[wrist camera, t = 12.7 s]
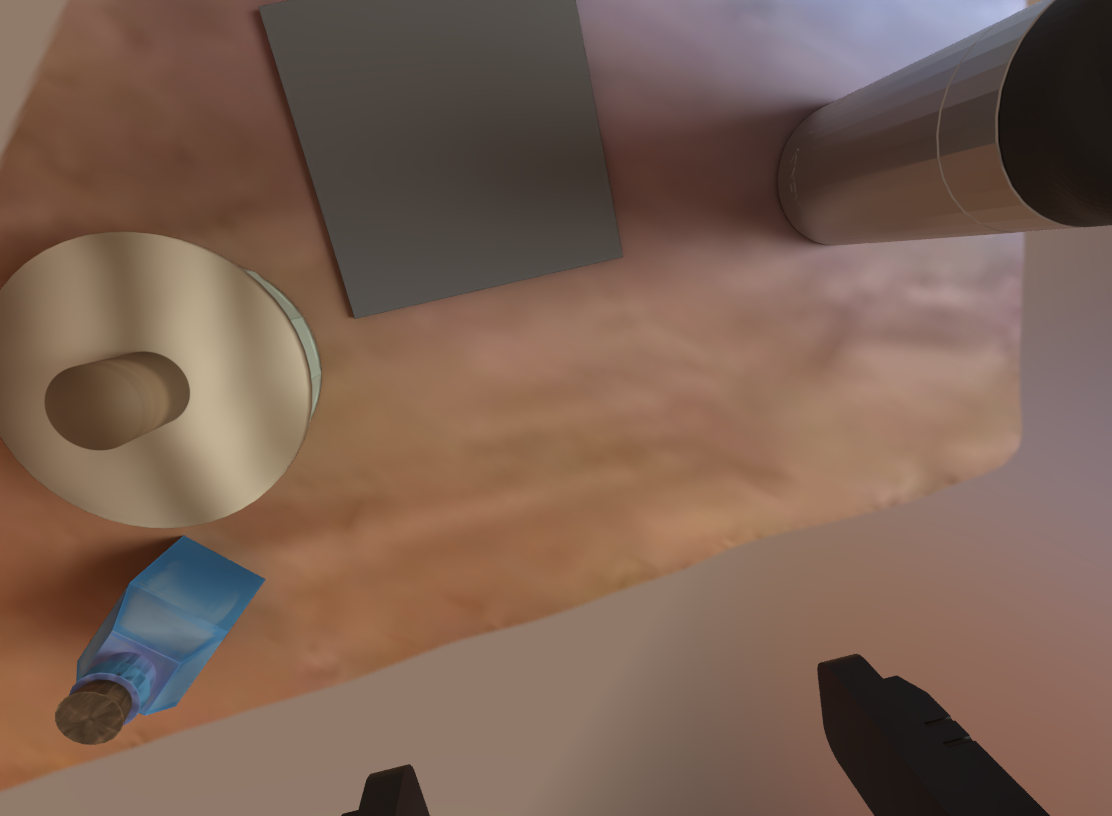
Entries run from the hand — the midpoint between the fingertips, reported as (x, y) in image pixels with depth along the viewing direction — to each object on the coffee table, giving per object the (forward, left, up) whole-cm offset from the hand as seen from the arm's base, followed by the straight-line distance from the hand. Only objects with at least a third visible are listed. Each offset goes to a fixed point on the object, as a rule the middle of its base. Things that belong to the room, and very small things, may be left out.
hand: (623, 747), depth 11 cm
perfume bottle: (+25, +8, -31) cm, 40 cm away
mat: (0, -17, -30) cm, 35 cm away
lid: (+19, -7, -24) cm, 32 cm away
